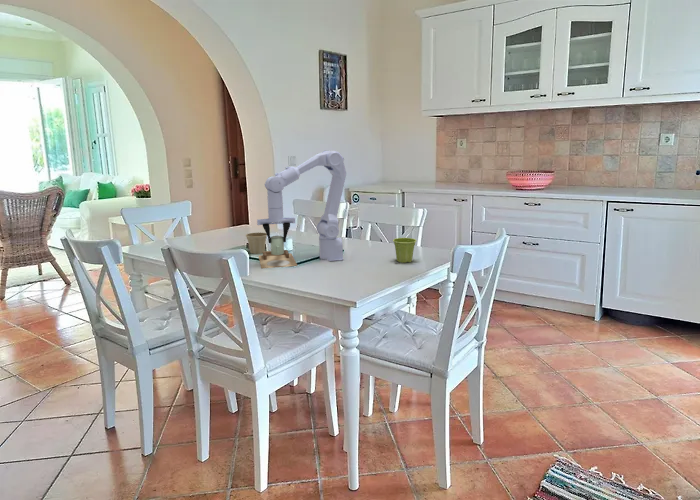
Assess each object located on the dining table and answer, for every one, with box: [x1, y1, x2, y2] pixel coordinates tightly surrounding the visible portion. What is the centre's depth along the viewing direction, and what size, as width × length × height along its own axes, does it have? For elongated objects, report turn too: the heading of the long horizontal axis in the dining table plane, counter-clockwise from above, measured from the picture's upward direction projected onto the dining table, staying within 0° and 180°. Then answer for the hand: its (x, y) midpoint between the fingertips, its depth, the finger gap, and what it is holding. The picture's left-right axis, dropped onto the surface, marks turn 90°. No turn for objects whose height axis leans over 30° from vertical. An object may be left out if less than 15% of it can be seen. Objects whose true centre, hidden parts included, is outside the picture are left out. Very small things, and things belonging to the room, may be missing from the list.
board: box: [258, 249, 298, 270], centre depth 210 cm, size 14×22×3 cm, turn 13°
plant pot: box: [392, 237, 417, 264], centre depth 207 cm, size 9×9×9 cm
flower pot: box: [245, 232, 268, 255], centre depth 225 cm, size 9×9×9 cm
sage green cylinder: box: [270, 235, 285, 255], centre depth 202 cm, size 5×8×6 cm, turn 12°
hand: (277, 242), depth 203 cm, fingers closed on sage green cylinder, 5 cm apart
